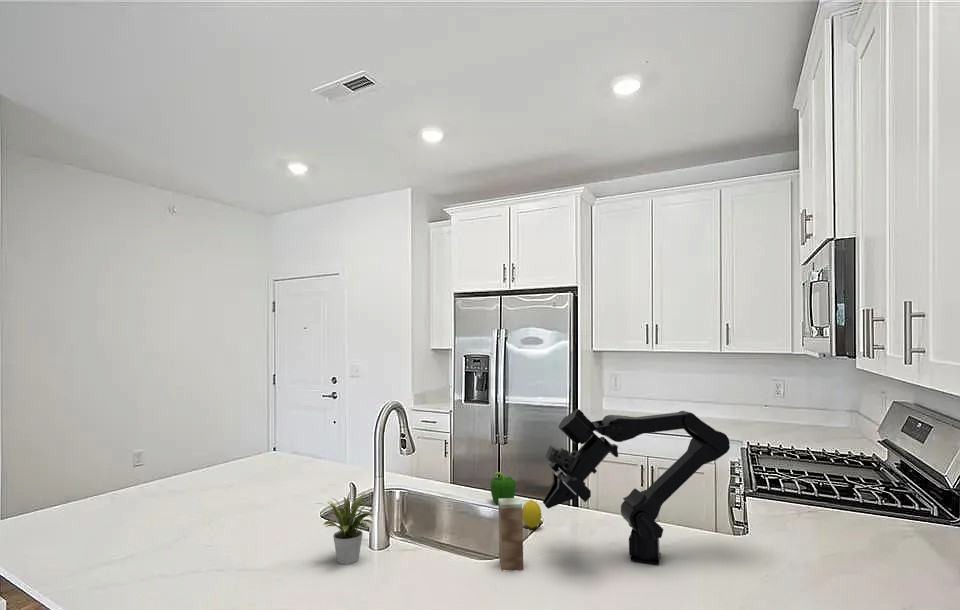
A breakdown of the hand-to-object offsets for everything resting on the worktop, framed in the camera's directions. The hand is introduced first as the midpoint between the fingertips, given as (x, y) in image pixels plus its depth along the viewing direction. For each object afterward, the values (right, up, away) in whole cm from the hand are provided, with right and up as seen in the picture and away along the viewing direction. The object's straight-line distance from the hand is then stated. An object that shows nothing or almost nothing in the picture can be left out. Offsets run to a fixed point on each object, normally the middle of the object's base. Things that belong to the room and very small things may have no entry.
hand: (545, 505), depth 124 cm
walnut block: (-8, -14, -2) cm, 16 cm away
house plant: (-49, -15, +2) cm, 51 cm away
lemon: (-1, -15, +22) cm, 27 cm away
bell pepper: (-8, -17, +46) cm, 50 cm away
